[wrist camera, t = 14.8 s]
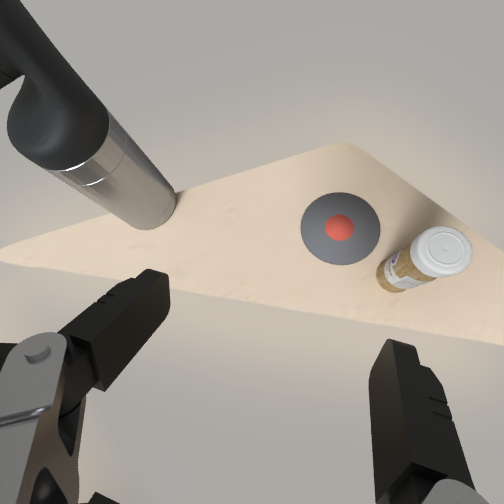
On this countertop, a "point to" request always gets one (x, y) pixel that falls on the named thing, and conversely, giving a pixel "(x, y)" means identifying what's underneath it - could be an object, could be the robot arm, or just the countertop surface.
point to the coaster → (340, 228)
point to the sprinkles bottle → (426, 259)
